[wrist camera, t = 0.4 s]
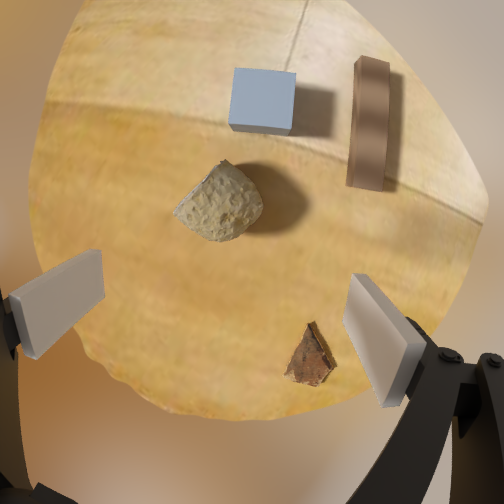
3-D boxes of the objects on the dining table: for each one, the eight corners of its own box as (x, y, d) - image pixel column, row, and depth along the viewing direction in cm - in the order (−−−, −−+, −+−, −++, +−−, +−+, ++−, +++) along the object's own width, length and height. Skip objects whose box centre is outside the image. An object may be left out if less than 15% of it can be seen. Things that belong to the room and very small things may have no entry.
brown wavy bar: (354, 63, 33) (361, 55, 29) (380, 70, 33) (389, 62, 29) (345, 185, 37) (353, 186, 34) (372, 190, 37) (382, 192, 34)
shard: (307, 318, 43) (308, 324, 41) (350, 331, 43) (353, 337, 42) (280, 372, 46) (280, 379, 44) (321, 382, 46) (322, 389, 44)
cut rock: (208, 128, 30) (264, 191, 27) (234, 163, 40) (280, 216, 37) (143, 185, 31) (188, 255, 28) (182, 208, 41) (222, 263, 38)
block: (238, 82, 35) (234, 67, 29) (291, 87, 34) (296, 73, 29) (233, 131, 36) (228, 123, 31) (287, 136, 36) (291, 129, 30)
